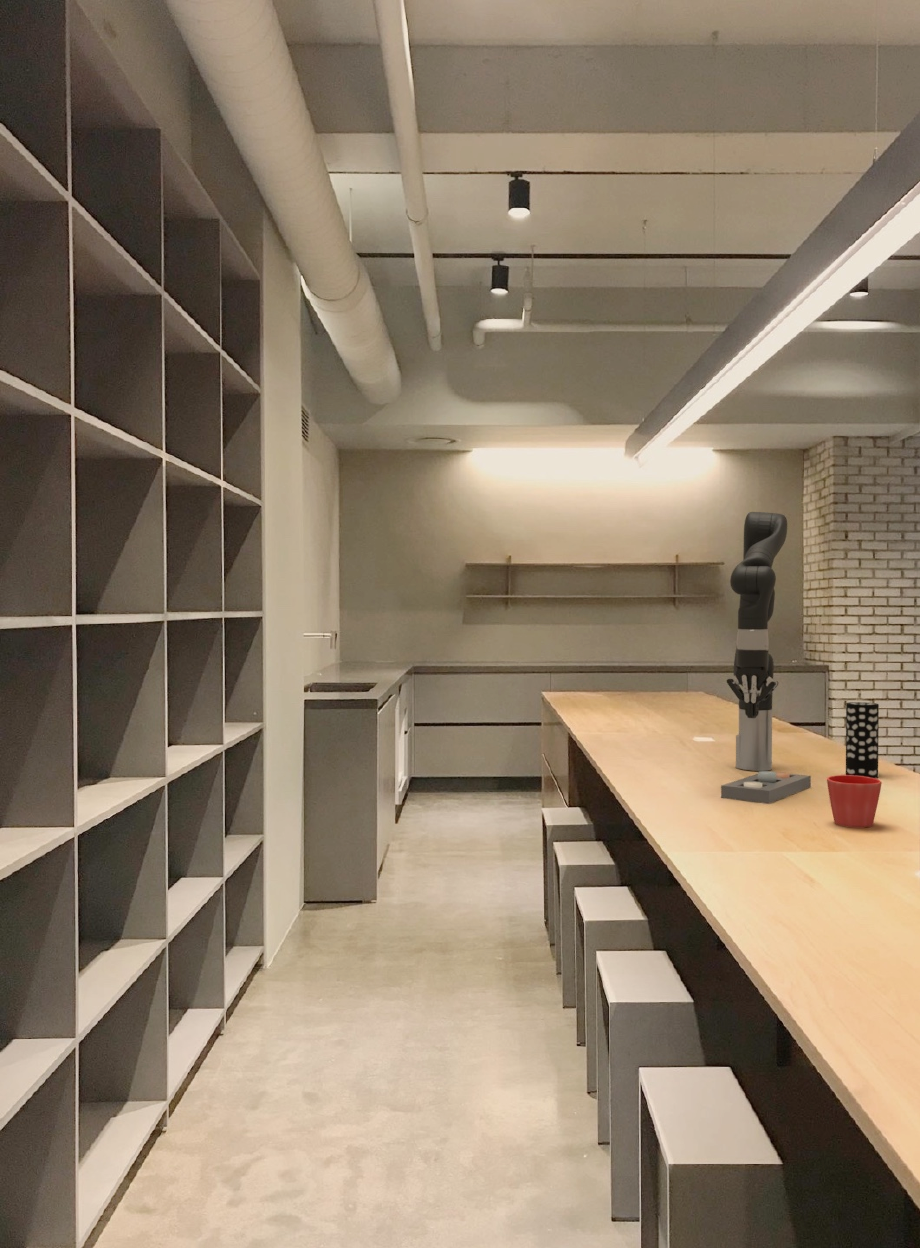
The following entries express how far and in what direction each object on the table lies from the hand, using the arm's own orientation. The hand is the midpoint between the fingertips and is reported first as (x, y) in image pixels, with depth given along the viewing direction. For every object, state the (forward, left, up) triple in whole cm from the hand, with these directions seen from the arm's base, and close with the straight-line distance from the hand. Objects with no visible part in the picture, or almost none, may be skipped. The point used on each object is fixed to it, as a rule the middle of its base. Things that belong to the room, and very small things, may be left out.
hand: (751, 717), depth 253 cm
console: (+1, +7, -19) cm, 20 cm away
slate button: (+1, +7, -17) cm, 18 cm away
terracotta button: (+1, +16, -19) cm, 24 cm away
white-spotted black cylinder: (+12, +47, -19) cm, 52 cm away
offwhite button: (+1, -2, -19) cm, 19 cm away
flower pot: (+30, -18, -20) cm, 40 cm away
